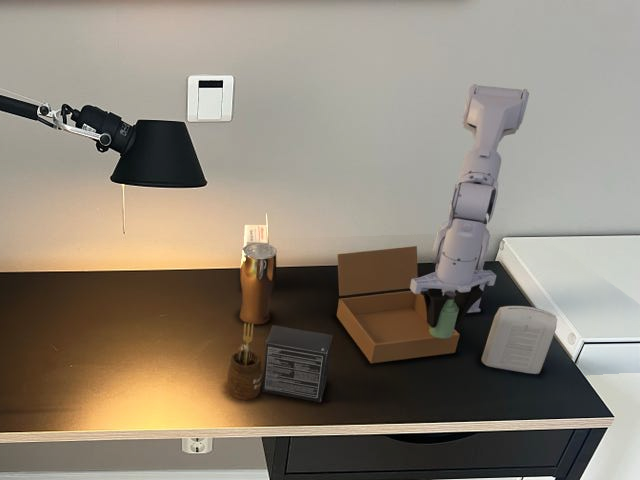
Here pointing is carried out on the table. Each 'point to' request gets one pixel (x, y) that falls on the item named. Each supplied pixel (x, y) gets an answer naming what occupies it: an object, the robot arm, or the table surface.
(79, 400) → the table surface
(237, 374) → the utensil holder
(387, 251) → the flap
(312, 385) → the small box
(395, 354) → the carton
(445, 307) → the bottle
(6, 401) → the table surface
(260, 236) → the ink cartridge box
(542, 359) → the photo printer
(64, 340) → the table surface
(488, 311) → the table surface
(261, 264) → the beer glass
